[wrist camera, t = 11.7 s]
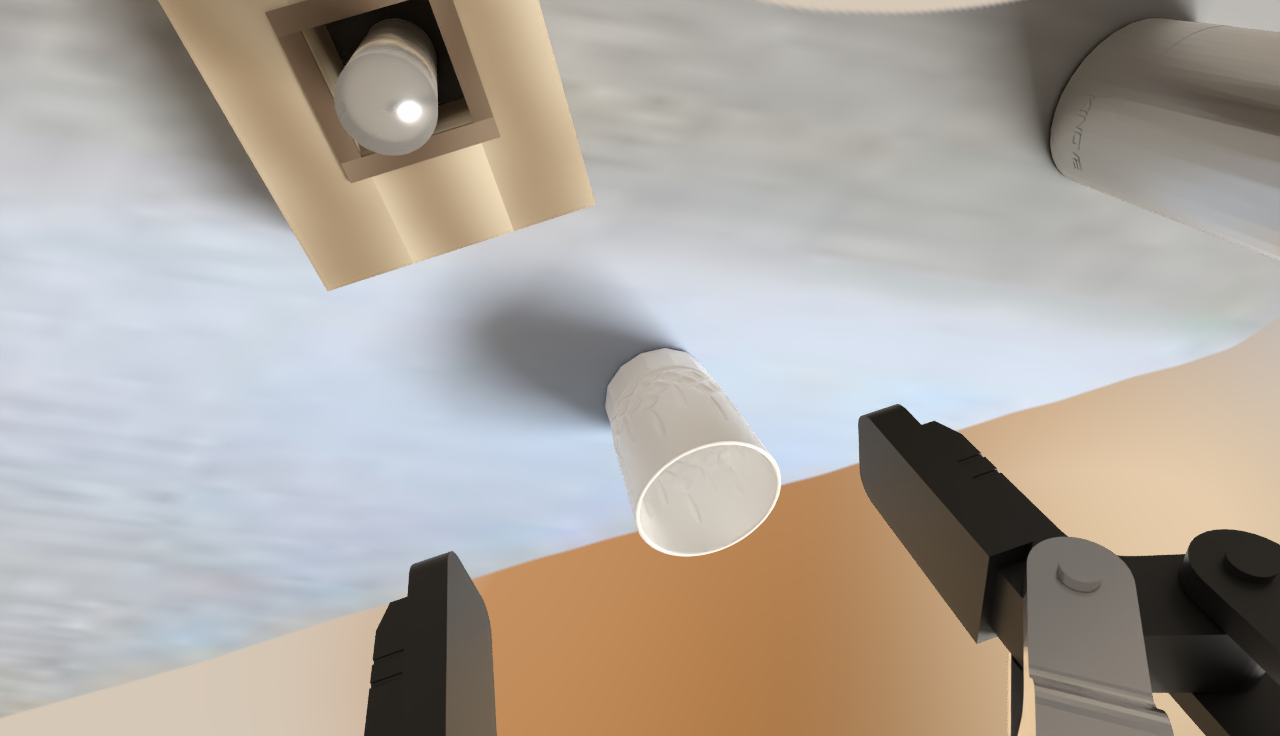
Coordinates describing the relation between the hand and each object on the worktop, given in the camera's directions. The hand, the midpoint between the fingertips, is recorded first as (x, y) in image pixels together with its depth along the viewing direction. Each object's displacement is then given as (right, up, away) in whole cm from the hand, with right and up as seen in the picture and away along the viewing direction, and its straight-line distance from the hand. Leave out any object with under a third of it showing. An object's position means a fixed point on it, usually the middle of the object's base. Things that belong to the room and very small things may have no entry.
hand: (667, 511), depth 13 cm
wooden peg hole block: (-11, +16, +16) cm, 25 cm away
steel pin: (-11, +16, +16) cm, 25 cm away
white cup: (0, +1, +29) cm, 29 cm away
